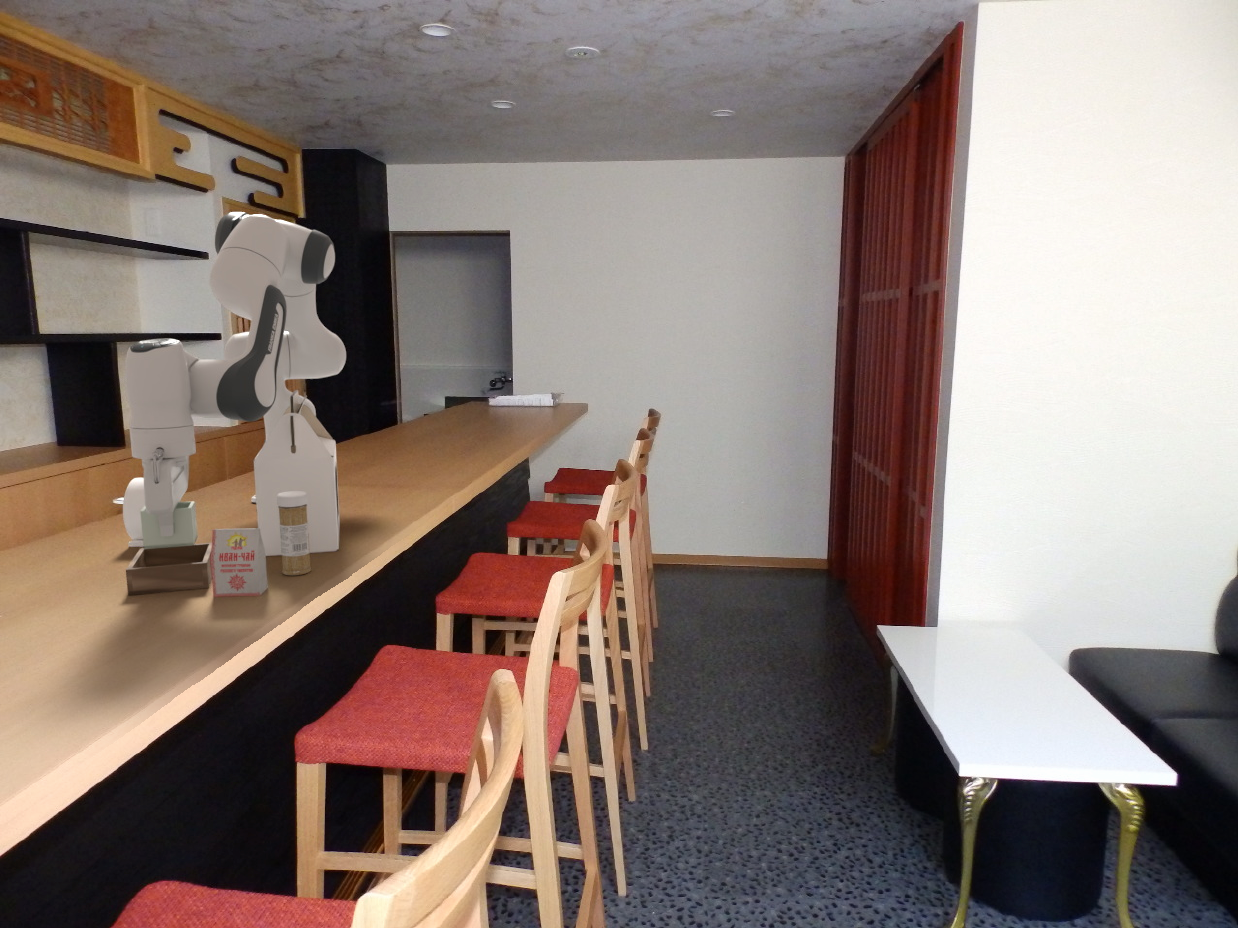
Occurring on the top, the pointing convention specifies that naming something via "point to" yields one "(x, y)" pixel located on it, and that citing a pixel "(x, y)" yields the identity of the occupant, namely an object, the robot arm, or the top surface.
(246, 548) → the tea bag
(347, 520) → the top surface
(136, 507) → the headphone stand
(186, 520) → the box
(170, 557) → the large crate
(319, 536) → the gable box
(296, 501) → the sprinkles bottle
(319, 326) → the robot arm
